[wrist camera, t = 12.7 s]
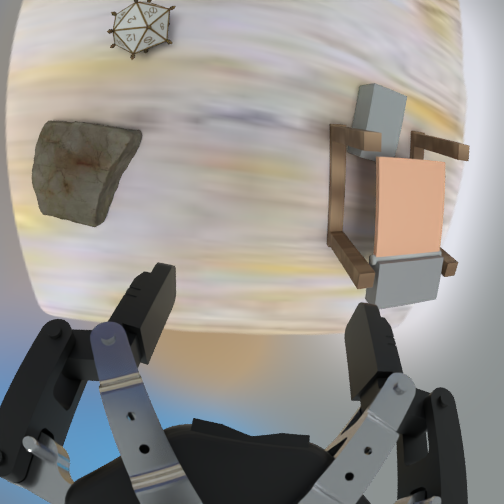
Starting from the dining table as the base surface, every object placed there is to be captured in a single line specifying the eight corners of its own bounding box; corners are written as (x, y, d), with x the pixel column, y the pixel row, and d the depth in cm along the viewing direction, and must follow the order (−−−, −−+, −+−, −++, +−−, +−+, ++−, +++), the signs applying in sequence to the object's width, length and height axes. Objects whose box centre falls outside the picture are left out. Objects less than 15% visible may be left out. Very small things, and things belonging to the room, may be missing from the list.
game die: (153, 30, 30) (146, -22, 20) (191, 48, 30) (190, -11, 20) (103, 62, 28) (85, 9, 18) (138, 83, 28) (121, 22, 18)
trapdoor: (369, 156, 30) (381, 156, 27) (438, 161, 30) (452, 163, 27) (363, 299, 35) (372, 310, 32) (426, 289, 35) (437, 298, 33)
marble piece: (144, 130, 34) (134, 132, 31) (125, 226, 41) (115, 238, 37) (51, 115, 31) (35, 117, 27) (41, 203, 37) (27, 211, 34)
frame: (329, 124, 35) (371, 129, 23) (421, 132, 35) (477, 145, 24) (326, 244, 43) (356, 292, 31) (410, 238, 43) (453, 278, 32)
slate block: (346, 151, 37) (359, 86, 33) (376, 160, 37) (389, 97, 33) (360, 157, 32) (374, 83, 28) (392, 166, 33) (407, 96, 29)
